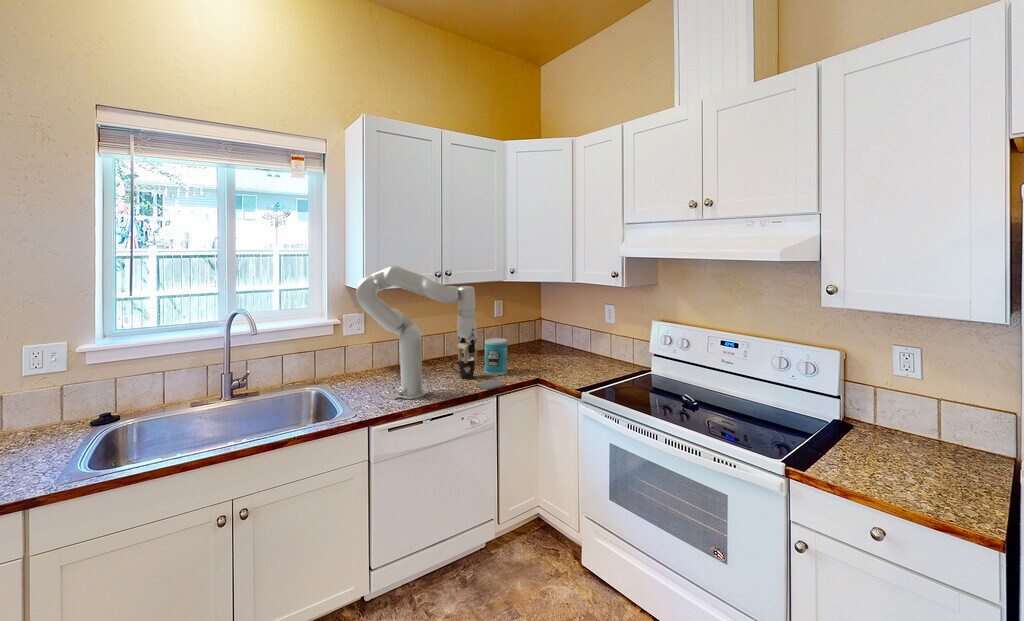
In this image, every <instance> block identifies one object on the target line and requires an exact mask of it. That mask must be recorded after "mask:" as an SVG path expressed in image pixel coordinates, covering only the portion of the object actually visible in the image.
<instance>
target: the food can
mask: <svg viewBox="0 0 1024 621" xmlns="http://www.w3.org/2000/svg"><path fill="white" fill-rule="evenodd" d="M484 372H485V375H487V376H493V377H498V375H501V376H504V374H505V375H507V373H508V340H507V339H506V338H501V337H494V338H493V337H490V338H486V339H485V340H484Z"/></svg>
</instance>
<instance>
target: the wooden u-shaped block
mask: <svg viewBox="0 0 1024 621" xmlns="http://www.w3.org/2000/svg"><path fill="white" fill-rule="evenodd" d="M468 345H469V341H466V343H460V342H459V343H457V362H459V361H462V352H463V357H464V363H468V359H471V357H473V358H474V361H475V362H478V344H477V343H475V352H474V353H469V352H468ZM461 349H463V350H461Z"/></svg>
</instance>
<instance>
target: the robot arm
mask: <svg viewBox="0 0 1024 621" xmlns="http://www.w3.org/2000/svg"><path fill="white" fill-rule="evenodd" d="M391 287H396V288H400V289H403V290H406V291H409V292H411V293H414V294H418V295H419V296H421V297H422V296H423V297H425V298H429V299H430V300H434V301H437V302H440V303H443V304H446V305H453V304H455V303H457V302H458V303H457V304H458V316H457V321H456V336H458V340H459V343H466V342H469V345H468V352H469V353H471V354H473V353H474V352H475V344H476V342H477V340H478V338H479V336H478V335H477V321H476V317H475V316H476V299H475V298H476V293H475V287H473V286H470V285H464V286H454V285H445V284H441V283H440V282H439V283H438V282H436V281H433V280H432V279H430V278H428V277H427V276H425V275H422V274H419V273H416V272H414V271H410V270H407V269H405V268H402V267H400V266H398V265H396V264H394V265H390V266H388V267H386V268H384V269H382V270H380V271H377V272H375V273H374V272H373V273H372V274H369V275H367V276H365V277H363V278H362V279H360V281H359V282H358V284H357V287H356V291H355V296H356V300H357V303H358V304H359V306H360V307H361V309H362V310H363V311H365V312H366V313H367V315H369V316H370V317H371V318H372V319H373V320H375V322H376V323H378V324H379V325H380V326H381V327H382V328H383V329H384V330H385V331H387V332H390V333H394V334H395V335H397V336H398V346H399V347H398V348H399V362H400V365H399V367H400V385H399V387H398V388H396V389H392V390H391V391H390V393H391V395H395V394H396V395H397V396H398V397H399V398H400V399H404V400H405V399H406V400H413V399H419V398H422V397H425V396H426V395H427V391H426V390H425V388H424V389H423V369H422V368H423V365H422V364H423V360H422V331H421V329H420V327H419V326H418V324H416V323H415V322H414V321H412V320H411V319H410V318H409V317H408V316H407V315H406V314H405V313H403V312H402V311H401V310H399V309H398V308H391V307H390V306H389V305H388V304H387V303H386V302H385V301H384V300H382V299H381V298H380V297H379V296H378V293H379V292H382V291H383V290H386V289H389V288H391ZM466 340H468V341H466ZM461 351H464V350H463V349H461Z"/></svg>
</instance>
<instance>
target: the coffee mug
mask: <svg viewBox="0 0 1024 621" xmlns="http://www.w3.org/2000/svg"><path fill="white" fill-rule="evenodd" d="M453 364H457V365H458V366H459V370H457V369H456V368H454V367H453ZM475 364H476V361H474V357H471V359H468V363H464V356H463V357H462V361H452V363H451V365H450V366H451V369H453V370H454V371H455V372H457V373H459V375H460V379H461V380H465V379H468V380H472V379H474V375H475V374H474V373H475V366H476V365H475Z"/></svg>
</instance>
